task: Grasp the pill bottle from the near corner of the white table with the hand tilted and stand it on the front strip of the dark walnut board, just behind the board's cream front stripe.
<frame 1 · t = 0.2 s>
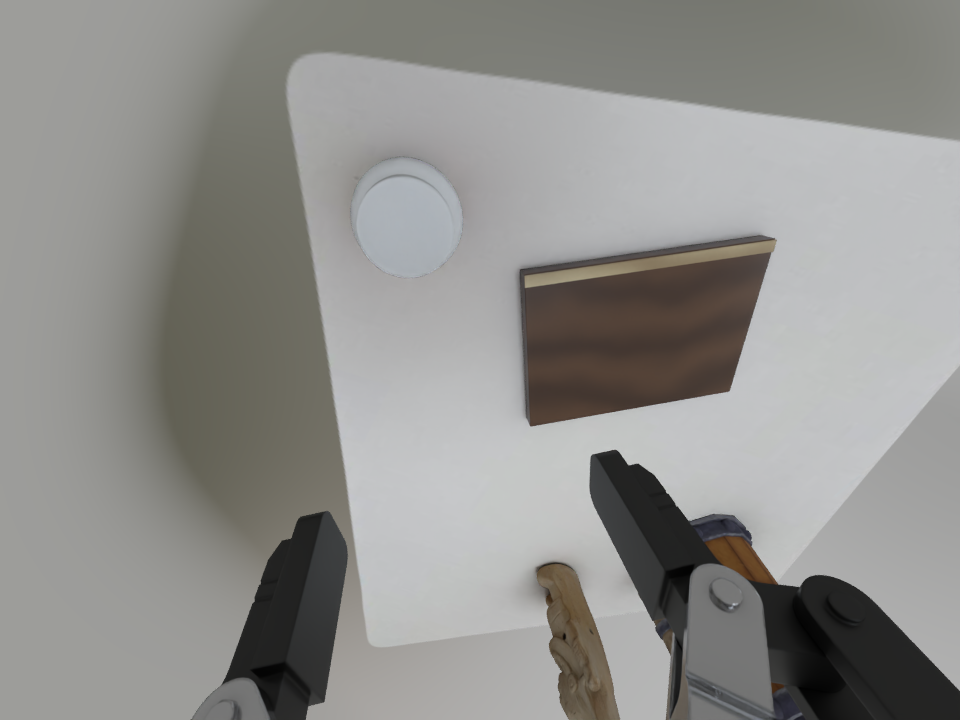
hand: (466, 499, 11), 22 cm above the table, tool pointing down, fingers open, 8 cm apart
pill bottle: (410, 204, 27), on the table
figurine: (552, 578, 55), on the table
board: (633, 334, 35), on the table
mug: (683, 550, 56), on the table
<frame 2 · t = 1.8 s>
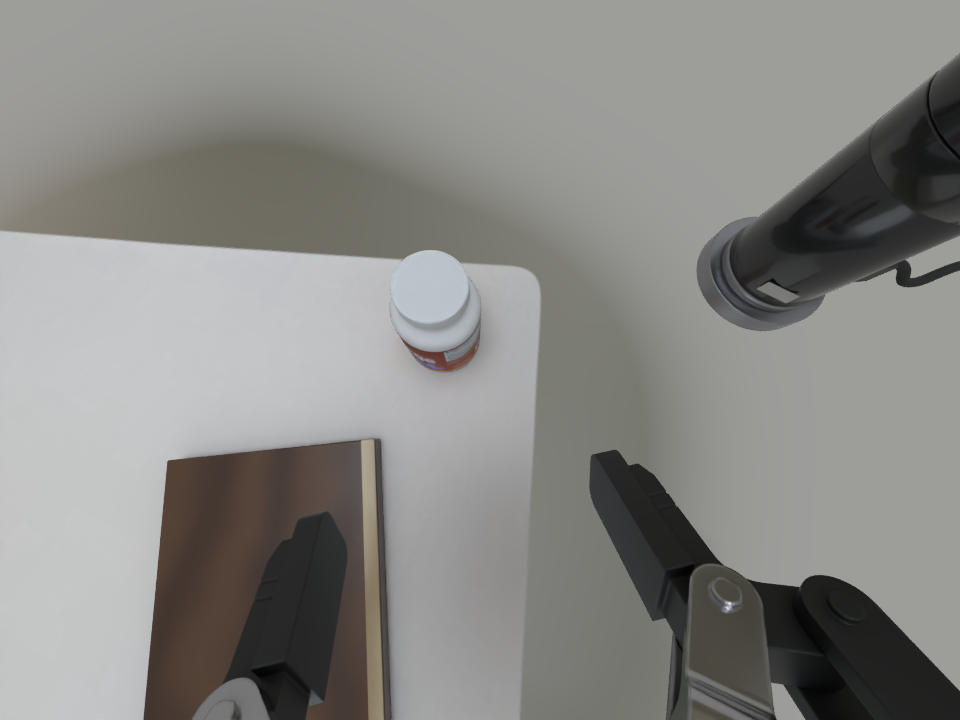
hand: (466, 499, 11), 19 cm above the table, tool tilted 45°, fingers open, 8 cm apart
pill bottle: (445, 340, 32), on the table
board: (278, 599, 27), on the table
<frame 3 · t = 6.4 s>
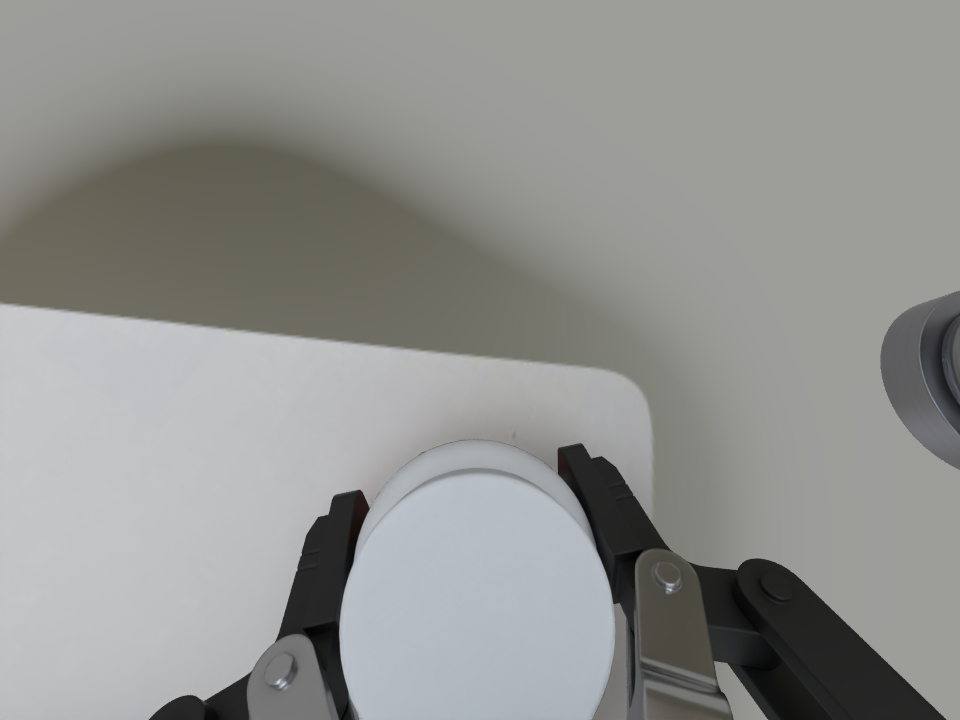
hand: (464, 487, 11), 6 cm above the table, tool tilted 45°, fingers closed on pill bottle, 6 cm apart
pill bottle: (474, 512, 17), on the table, touching gripper
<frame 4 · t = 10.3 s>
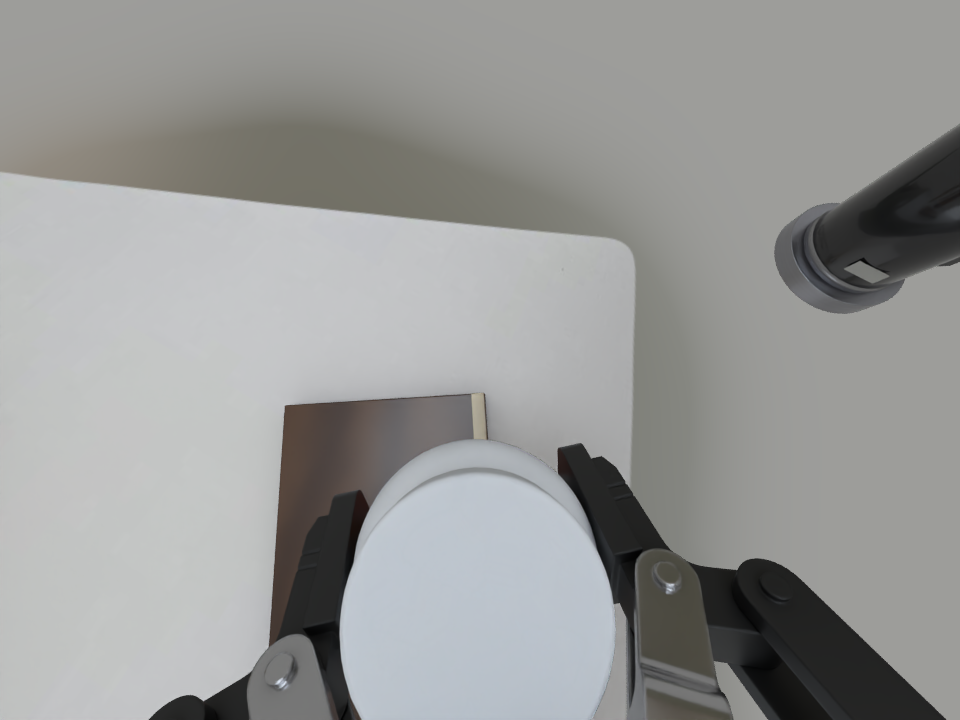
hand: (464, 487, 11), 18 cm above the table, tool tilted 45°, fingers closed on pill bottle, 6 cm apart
pill bottle: (474, 512, 17), point 12 cm above the table, touching gripper
board: (390, 543, 28), on the table
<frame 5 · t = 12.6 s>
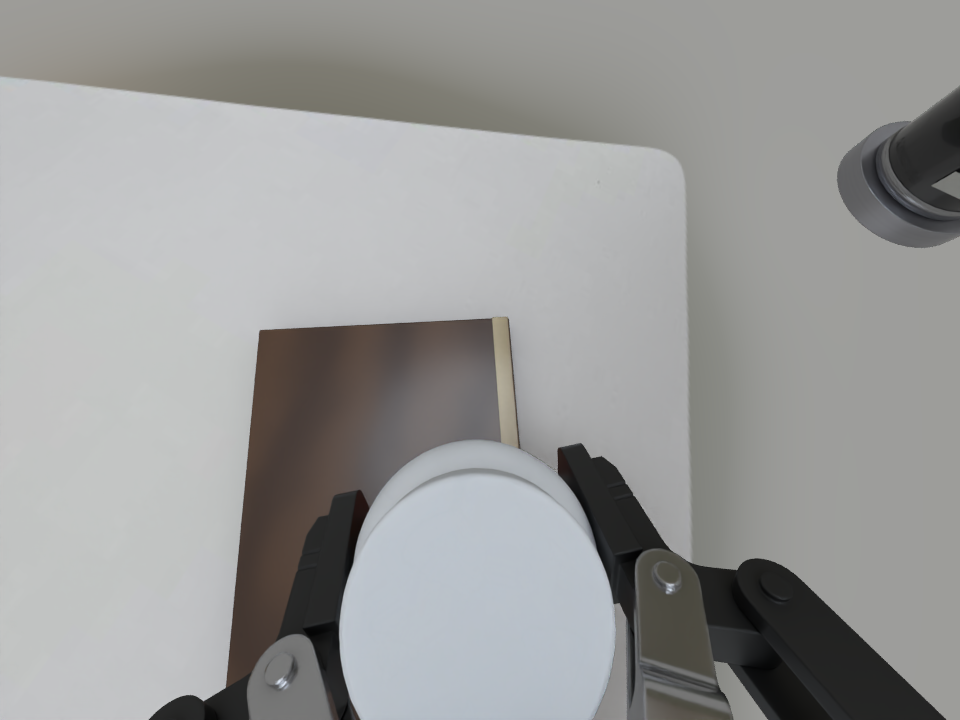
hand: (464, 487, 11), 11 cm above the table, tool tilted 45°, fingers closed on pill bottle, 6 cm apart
pill bottle: (474, 512, 17), point 5 cm above the table, touching gripper
board: (390, 501, 22), on the table
when the fingers open (7 cm above the table, at t = 14.3 s): pill bottle stays where it is, resting on board.
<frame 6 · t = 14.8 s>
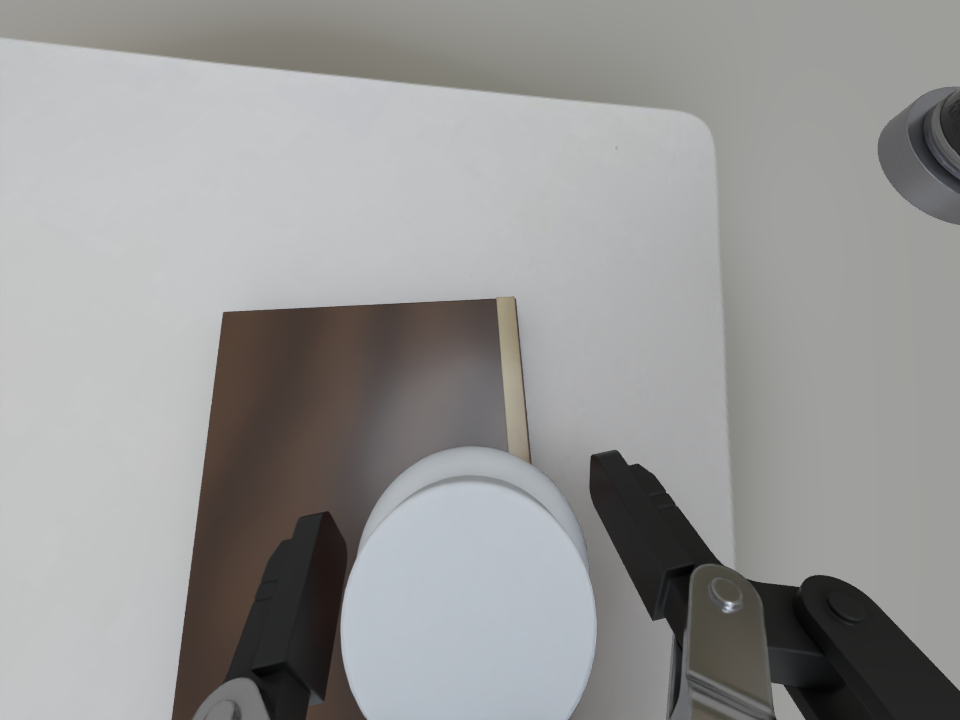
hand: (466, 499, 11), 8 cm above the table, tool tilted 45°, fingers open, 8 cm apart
pill bottle: (475, 514, 17), point 1 cm above the table, touching board
board: (376, 514, 19), on the table
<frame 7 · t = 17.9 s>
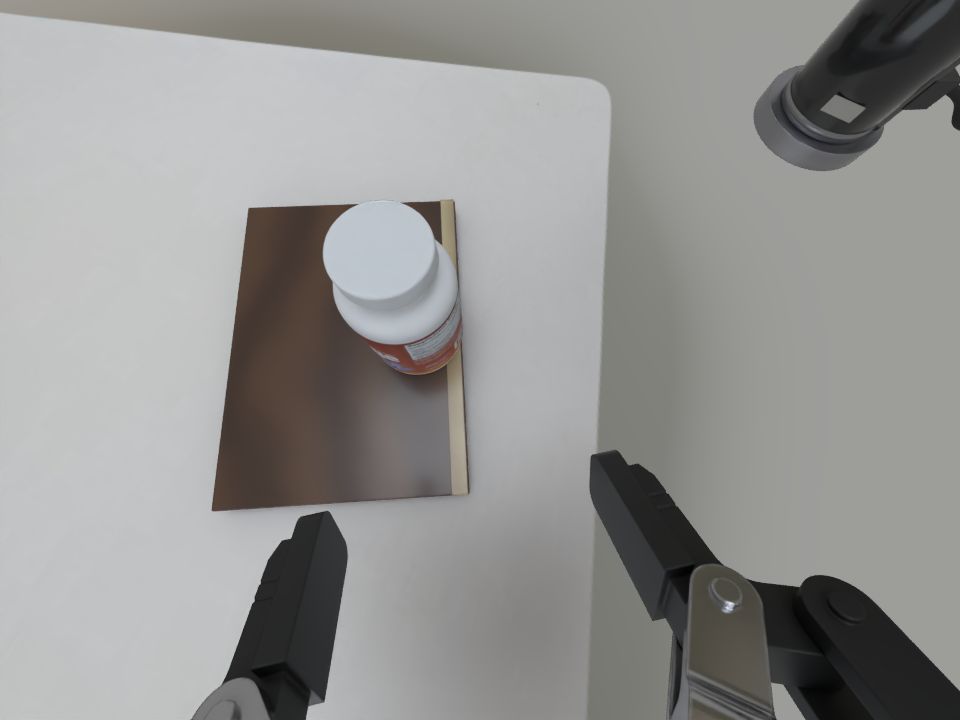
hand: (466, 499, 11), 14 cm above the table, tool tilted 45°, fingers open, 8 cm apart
pill bottle: (420, 335, 26), point 1 cm above the table, touching board
board: (354, 343, 27), on the table
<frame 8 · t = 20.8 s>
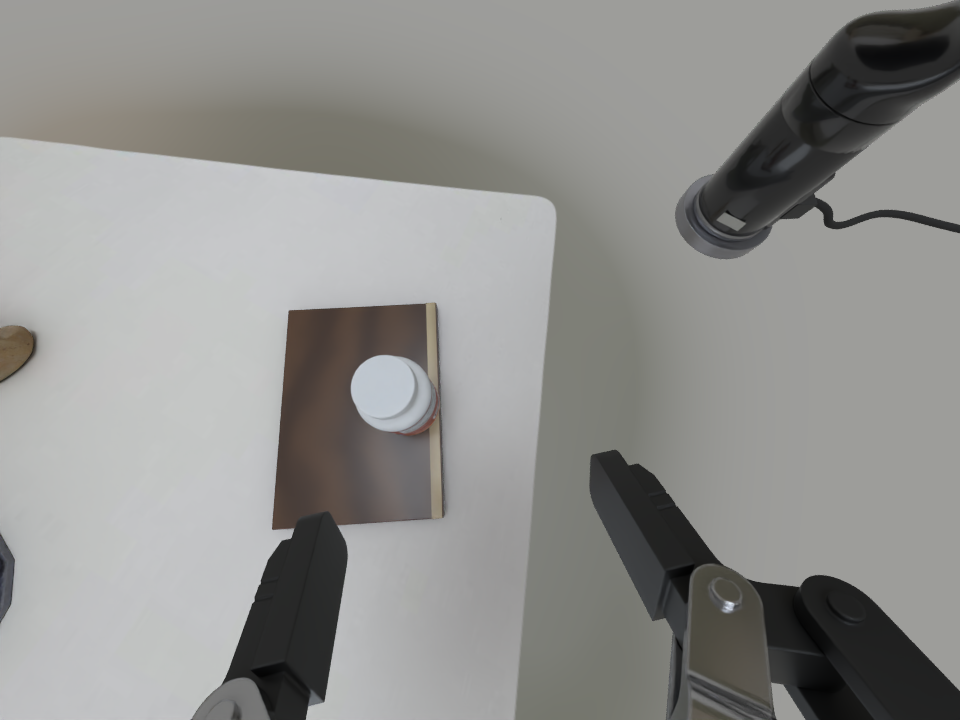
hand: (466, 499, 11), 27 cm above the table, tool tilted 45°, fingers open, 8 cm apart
pill bottle: (411, 405, 37), point 1 cm above the table, touching board
board: (364, 408, 38), on the table
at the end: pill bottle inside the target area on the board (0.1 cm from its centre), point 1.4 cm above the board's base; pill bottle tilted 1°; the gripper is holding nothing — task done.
